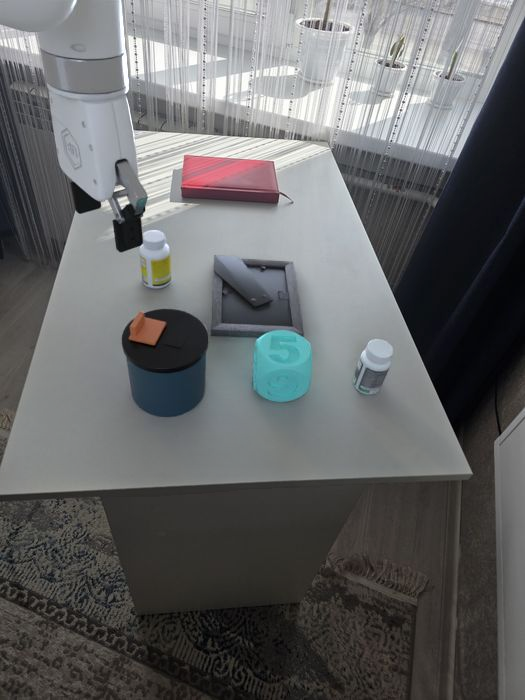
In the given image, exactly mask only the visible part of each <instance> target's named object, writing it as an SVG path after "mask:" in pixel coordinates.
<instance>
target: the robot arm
mask: <svg viewBox="0 0 525 700" xmlns="http://www.w3.org/2000/svg"><path fill="white" fill-rule="evenodd" d="M123 18H124V17H123V7H122V0H0V25H1V26H4V27H7V28H10V29H13V30H16V31H20V32H25V33H36V37H37V42H38V47H39V52H40V58H41V62H42V67H43V72H44V78H45V82H46V87H47V89H48V92H49V93H48V95H49V108H50V116H51V123H52V129H53V136H54V142H55V148H56V155H57V159H58V165H59V168H60V169H61V171H62V172H63V173H64V174H65V176H67V178H68V179H69V180H70V182H69V185H70V189H71V194H72V199H73V205H74V209H75V212H76V213H77V214H79V215H81V214H86V213H89V212H92V211H97V210H99V209H101V208H102V203H104V202H106V201H108V204H109V207H110V208H111V210H112V213H113V215H114V217H115V218H114V219H112V228H113V235H114V243H115V249H116V251H117V252H119V253H124V252H126V251H130V250H132V249H135V248H140V246H141V245H142V244H143V226H142V218H143V217H144V213H145V212H146V208H147V207H146V206H147V201H148V198H149V197H148V196H149V195H148V193H147V191H146V189H145V187H144V186H143V185H142V183H141V181H140V179H139V165H138V154H137V148H136V139H135V133H134V127H133V122H132V116H131V111H130V110H131V109H130V106H129V102H128V101H129V100H128V96H127V93H128V92H129V90H130V89H129V77H128V64H127V52H126V45H125V32H124V31H125V29H124V19H123ZM120 186H122V187H123V189H118V190H115V188H116V187H120ZM121 198H127V200H128V202H129V203H128V204H125V206H124V207H123V208H122V207H121V204H120V202H119V200H118V199H121Z"/></svg>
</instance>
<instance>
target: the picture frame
mask: <svg viewBox="0 0 525 700" xmlns="http://www.w3.org/2000/svg"><path fill="white" fill-rule="evenodd" d="M299 297H300V296H299V291H298V285H297V279H296V271H295V265H294V261H288V260H287V261H285V260H271V259H257V258H255V259H254V258H240V257H239V256H231V255H230V256H228V255H220V254H219V255H218V254H214V256H213V277H212V297H211V321H210V336H211V337H227V338H245V339H246V338H247V339H249V338H250V339H258V338H259V337H261V336H262V335H264V334H266V333H268V332H271V331H276V330H287V331H292V332H295V333H297V334H299V335H300V336H302V337H303V338H304V335H305V330H304V325H303V324H304V323H303V317H302V312H301V306H300V305H301V304H300V298H299Z"/></svg>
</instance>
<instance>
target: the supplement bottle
mask: <svg viewBox="0 0 525 700" xmlns="http://www.w3.org/2000/svg"><path fill="white" fill-rule="evenodd" d="M142 235H143V244H142V245H141V246H139V249H138V250H139V251H138V252H139V260H140V262H139V263H140V272H141V279H142V283H143V284H144V286H146V287H148V288H150V289H157V290H158V289H163V288H166V287H167V286H169V285H170V283H171V281H172V267H171V266H172V265H171V263H172V262H171V249H170V246H169V244H167V240H166V239H167V238H166V234H165V233H164V232H163V231H162V230H158V229H151V230H150V229H149V230H145V232H142Z"/></svg>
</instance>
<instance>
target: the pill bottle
mask: <svg viewBox="0 0 525 700" xmlns="http://www.w3.org/2000/svg"><path fill="white" fill-rule="evenodd" d="M394 351H395V350H394V348H393V346H392V345H391V343H389V342H388V341H386V340H385V339H381V338H374V339H371V340H369V342H368V343H367V345H366V347H365V349H364V350H363V351H362V352H361V355H360V357H359V360H358V363H357V364H356V367H355V371H354V373H353V375H352V380H351V382H352V385H353V387H354V388H355V390H357V391H358V392H359V393H361V394H364V395H374V394H377V393H379V392H380V390H381V389H382V386H383V384H384V382H385V379H386V378H387V374H388V372H389V370H390V368H391V366H392V358H393V355H394V353H395V352H394Z"/></svg>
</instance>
